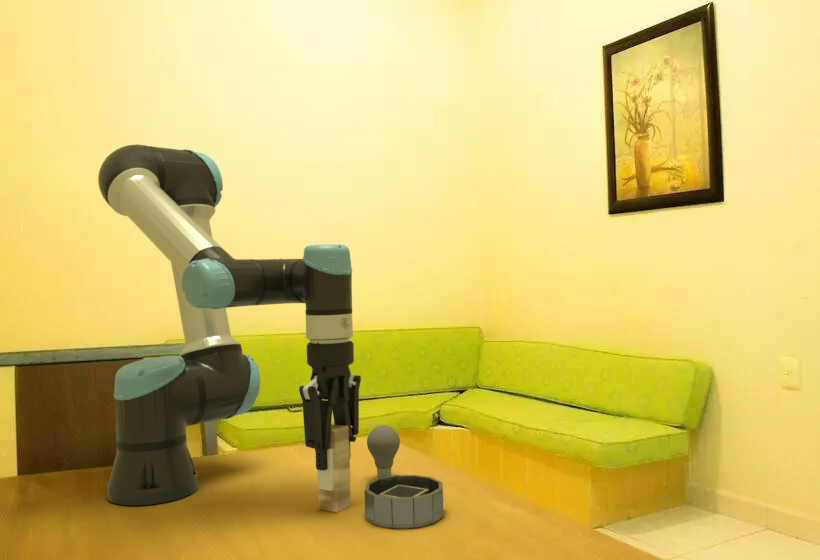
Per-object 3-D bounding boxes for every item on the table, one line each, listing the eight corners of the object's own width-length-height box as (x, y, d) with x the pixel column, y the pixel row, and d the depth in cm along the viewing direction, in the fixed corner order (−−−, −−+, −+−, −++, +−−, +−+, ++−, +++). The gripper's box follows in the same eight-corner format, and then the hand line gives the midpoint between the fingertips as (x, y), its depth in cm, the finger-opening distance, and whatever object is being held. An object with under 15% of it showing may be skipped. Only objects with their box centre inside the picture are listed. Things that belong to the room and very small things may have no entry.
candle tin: (350, 521, 109) (349, 491, 109) (393, 498, 120) (392, 471, 119) (418, 534, 103) (417, 503, 103) (457, 509, 113) (456, 480, 113)
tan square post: (319, 509, 115) (316, 428, 115) (333, 502, 118) (330, 424, 118) (337, 512, 113) (334, 430, 113) (350, 505, 116) (348, 425, 116)
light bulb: (397, 485, 126) (395, 429, 126) (364, 484, 128) (362, 428, 128) (404, 476, 132) (402, 422, 132) (372, 475, 134) (371, 421, 133)
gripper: (315, 346, 106) (320, 504, 107) (378, 336, 121) (382, 475, 121) (277, 345, 110) (281, 496, 111) (342, 335, 125) (346, 469, 125)
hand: (334, 485), depth 116 cm, fingers closed on tan square post, 4 cm apart
